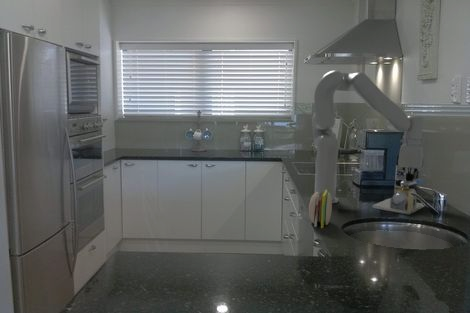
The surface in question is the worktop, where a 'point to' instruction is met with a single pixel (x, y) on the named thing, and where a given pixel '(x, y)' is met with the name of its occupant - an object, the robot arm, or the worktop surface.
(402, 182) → the lever
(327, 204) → the hamburger
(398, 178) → the spray can
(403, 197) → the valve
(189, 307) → the worktop surface
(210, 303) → the worktop surface
